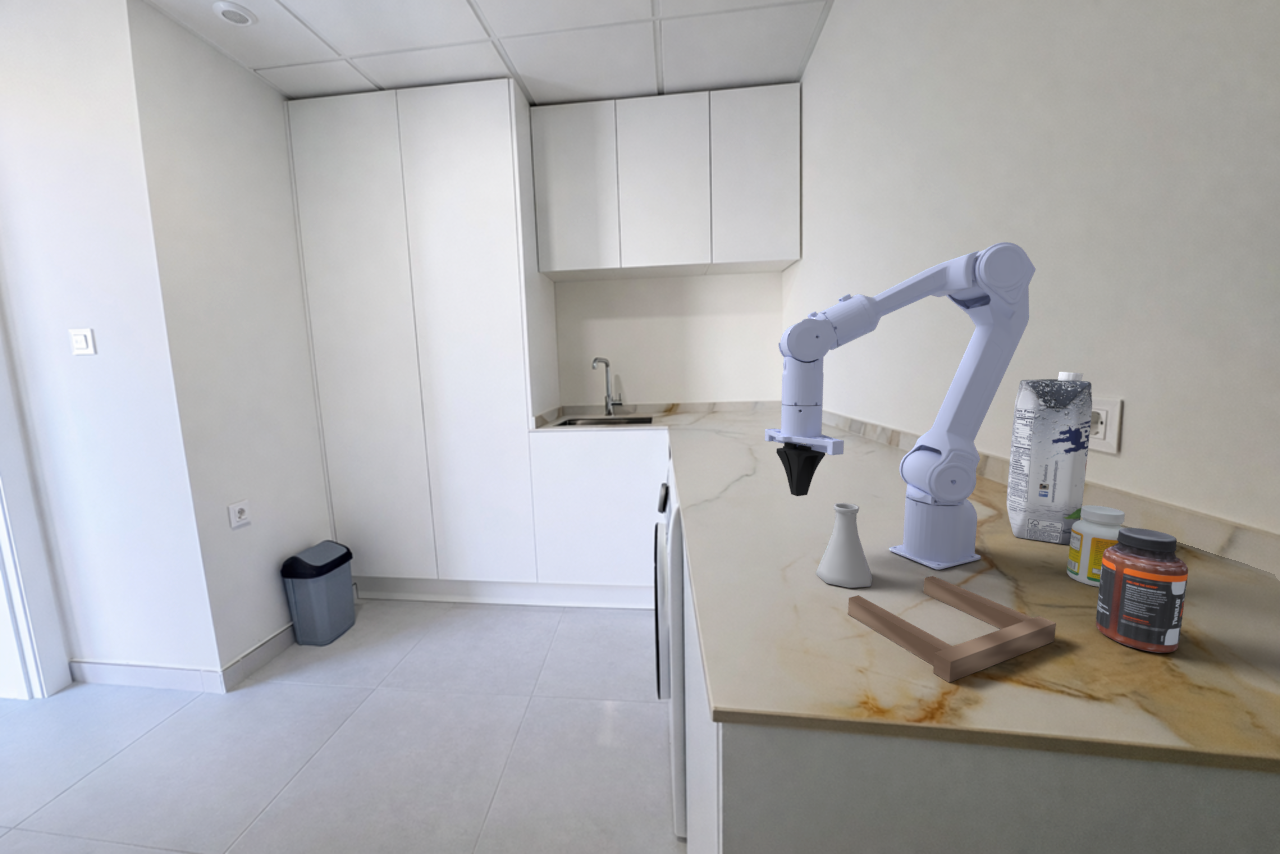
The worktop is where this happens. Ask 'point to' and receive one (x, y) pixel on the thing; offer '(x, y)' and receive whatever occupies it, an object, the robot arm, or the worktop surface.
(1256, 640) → the worktop surface
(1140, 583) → the supplement bottle
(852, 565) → the flask
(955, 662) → the walnut bay
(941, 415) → the robot arm
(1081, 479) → the juice carton
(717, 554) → the worktop surface
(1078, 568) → the supplement bottle
